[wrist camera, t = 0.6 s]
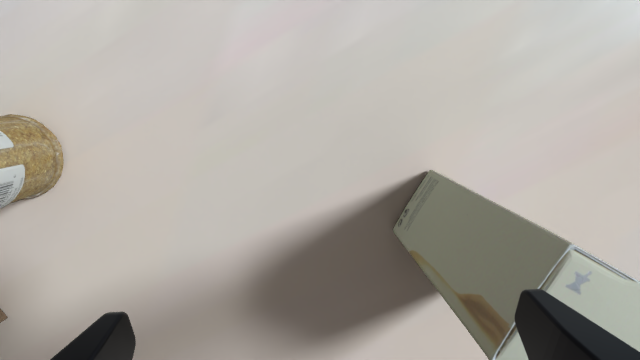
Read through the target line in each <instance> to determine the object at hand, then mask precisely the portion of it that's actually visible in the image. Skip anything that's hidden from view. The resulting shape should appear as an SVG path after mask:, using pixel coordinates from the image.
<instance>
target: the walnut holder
mask: <svg viewBox="0 0 640 360" xmlns="http://www.w3.org/2000/svg"><path fill="white" fill-rule="evenodd" d="M6 318H8V317H7V316H6V315H5V314H4V313H3V311H2V310H1V309H0V323H1V322H2V321H4V320H5V319H6Z"/></svg>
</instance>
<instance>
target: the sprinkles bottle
mask: <svg viewBox="0 0 640 360" xmlns="http://www.w3.org/2000/svg"><path fill="white" fill-rule="evenodd" d="M62 169H63V153H62V148H61V145H60V143H59V142H58V140H57V138H56V137H55V135H54V134H53V133H52V132H51V131H50V130H48V129H47V128H46V127H45V126H44V125H43V124H41V123H40V122H38V121H37V120H34V119H32V118H29V117H25V116H19V115H11V114H10V115H5V116H0V208H2V207H4V206H6V205H8V204H9V203H12V202H15V201H18V200H20V199H29V198H33V197H37V196H39V195H41V194H44V193H46V192H47V191H48V190H49V189H51V188H52V187H53V186H54V185H55V184H56V182H57V181H58V179H59V178H60V176H61V173H62Z"/></svg>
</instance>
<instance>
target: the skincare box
mask: <svg viewBox="0 0 640 360" xmlns="http://www.w3.org/2000/svg"><path fill="white" fill-rule="evenodd" d="M393 232H394V234H395V235H396V236H397V237H398V239H399V240H400V242H401V243H402V244H403V245H404V247H405V248H406V249H407V251H408V252H409V253H410V254H411V256H412V257H413V259H414V260H415V261H416V263H417V264H418V265H419V267H420V268H421V269H422V271H423V272H424V273H425V274H426V276H427V277H428V278H429V280H430V281H431V282H432V284H433V285H434V286H435V288H436V289H437V290H438V292H439V293H440V294H441V296H442V297H443V298H444V300H445V301H446V302H447V304H448V305H449V306H450V308H451V309H452V310H453V312H454V313H455V314H456V316H457V317H458V318H459V320H460V321H461V322H462V324H463V325H464V326H465V327H466V329H467V330H468V332H469V333H470V334H471V336H472V337H473V338H474V340H475V341H476V342H477V344H478V345H479V346H480V348H481V349H482V350H483V352H484V353H485V354H486V356H487V357H488V359H489V360H529V359H528V357H527V354H526V351H525V349H524V346H523V343H522V341H521V338H520V336H519V333H518V330H517V328H516V325H515V319H514V318H515V312H516V308H517V304H518V301H519V297H520V294H521V292H522V291H523V290H525V289H542V290H544V291H546V292H547V293H549V294H550V295H552V296H553V297H555V298H557V299H558V300H560V301H561V302H563V303H564V304H566V305H568V306H569V307H571V308H572V309H574V310H575V311H577V312H578V313H580V314H582V315H583V316H585V317H586V318H588V319H589V320H591V321H592V322H594V323H596V324H597V325H599V326H600V327H602V328H603V329H605V330H607V331H608V332H610V333H611V334H613V335H614V336H616V337H617V338H619V339H621V340H622V341H624V342H625V343H627V344H628V345H630V346H631V347H633V348H635V349H636V350H638V351H639V352H640V281H638V280H636V279H634V278H633V277H631V276H629V275H627V274H626V273H624V272H622V271H620V270H619V269H617V268H615V267H613V266H612V265H610V264H608V263H606V262H605V261H603V260H601V259H599V258H597V257H596V256H594V255H592V254H590V253H589V252H587V251H585V250H583V249H581V248H580V247H578V246H576V245H574V244H573V243H571V242H569V241H567V240H565V239H563V238H562V237H560V236H558V235H556V234H554V233H552V232H550V231H548V230H547V229H545V228H543V227H541V226H539V225H537V224H535V223H533V222H531V221H529V220H527V219H525V218H524V217H522V216H520V215H518V214H516V213H514V212H512V211H510V210H508V209H506V208H504V207H502V206H500V205H498V204H496V203H494V202H493V201H491V200H489V199H487V198H485V197H483V196H481V195H479V194H477V193H475V192H473V191H471V190H469V189H467V188H465V187H464V186H462V185H460V184H458V183H456V182H454V181H452V180H451V179H449V178H447V177H445V176H443V175H441V174H439V173H437V172H435V171H433V170H430V171H429V172H428V173H427V175H426V177H425V178H424V180H423V181H422V183H421V184H420V186H419V187H418V189H417V190H416V192H415V193H414V195H413V196H412V198H411V200H410V201H409V203H408V204H407V206H406V208H405V209H404V211H403V213H402V214H401V216H400V218H399V220H398V221H397V223H396V225H395V227H394V229H393Z"/></svg>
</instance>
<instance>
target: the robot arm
mask: <svg viewBox="0 0 640 360" xmlns="http://www.w3.org/2000/svg"><path fill="white" fill-rule="evenodd" d="M514 319H515V325H516V328H517V330H518V333H519V336H520V338H521V341H522V343H523V346H524V349H525V351H526V354H527V357H528V359H529V360H640V352H639V351H638V350H636V349H635V348H633V347H631V346H630V345H628V344H627V343H625V342H624V341H622V340H621V339H619V338H617V337H616V336H614V335H613V334H611V333H610V332H608V331H607V330H605V329H603V328H602V327H600V326H599V325H597V324H596V323H594V322H592V321H591V320H589V319H588V318H586V317H585V316H583V315H582V314H580V313H578V312H577V311H575V310H574V309H572V308H571V307H569V306H568V305H566V304H564V303H563V302H561V301H560V300H558V299H557V298H555V297H553V296H552V295H550V294H549V293H547V292H546V291H544V290H542V289H525V290H523V291H522V292H521V294H520V297H519V301H518V304H517V308H516V312H515V318H514ZM134 350H135V335H134V332H133V329H132V326H131V323H130V320H129V317H128V315H127V314H126V313H125V312H109V313H106V314H104V315H103V316H101V317H100V318H99V319H98V320H97V321H96V322H94V323H93V324H92V325H91V326H90V327H88V328H87V329H86V330H85V331H84V332H82V333H81V334H80V335H79V336H78V337H77V338H75V339H74V340H73V341H72V342H71V343H69V344H68V345H67V346H66V347H65V348H64V349H62V350H61V351H60V352H59V353H58V354H56V355H55V356H54V357H53V358H52V359H50V360H132V358H133V354H134Z"/></svg>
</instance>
